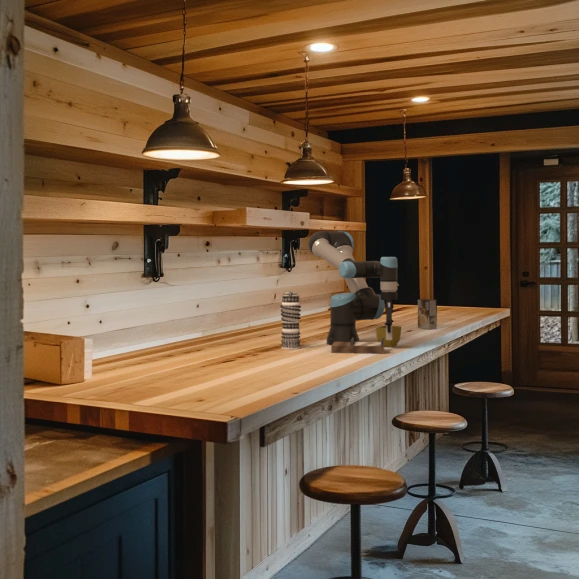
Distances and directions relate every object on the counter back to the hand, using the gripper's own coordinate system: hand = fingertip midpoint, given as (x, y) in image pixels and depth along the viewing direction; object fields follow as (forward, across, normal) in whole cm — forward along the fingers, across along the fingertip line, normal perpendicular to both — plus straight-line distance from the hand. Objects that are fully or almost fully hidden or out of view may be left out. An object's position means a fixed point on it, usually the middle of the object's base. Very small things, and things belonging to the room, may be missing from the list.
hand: (389, 338), depth 333 cm
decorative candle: (+4, -11, +43) cm, 45 cm away
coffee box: (+3, +78, -21) cm, 81 cm away
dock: (+4, -16, +13) cm, 21 cm away
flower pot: (+4, 0, 0) cm, 4 cm away
